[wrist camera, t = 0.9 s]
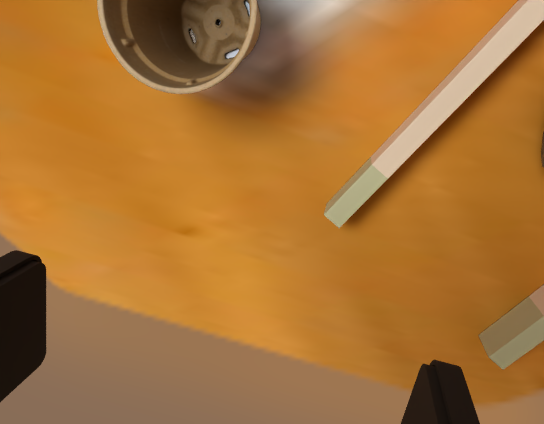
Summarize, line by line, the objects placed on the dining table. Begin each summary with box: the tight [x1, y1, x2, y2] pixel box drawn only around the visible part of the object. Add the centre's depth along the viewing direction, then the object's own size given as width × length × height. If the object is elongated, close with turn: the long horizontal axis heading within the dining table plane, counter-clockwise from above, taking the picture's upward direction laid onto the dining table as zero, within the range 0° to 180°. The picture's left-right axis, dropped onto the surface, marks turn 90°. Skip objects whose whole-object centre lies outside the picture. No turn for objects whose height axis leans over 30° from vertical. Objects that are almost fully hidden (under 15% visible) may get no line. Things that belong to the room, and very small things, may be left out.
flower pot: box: [97, 0, 261, 94], centre depth 29 cm, size 9×9×9 cm
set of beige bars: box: [324, 0, 544, 369], centre depth 30 cm, size 22×18×3 cm
